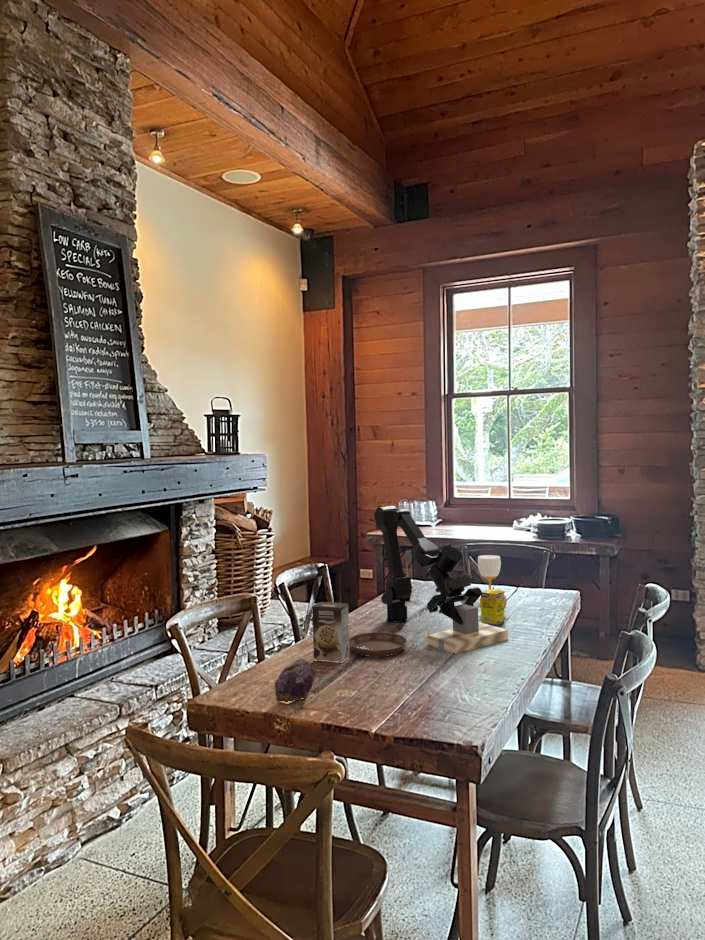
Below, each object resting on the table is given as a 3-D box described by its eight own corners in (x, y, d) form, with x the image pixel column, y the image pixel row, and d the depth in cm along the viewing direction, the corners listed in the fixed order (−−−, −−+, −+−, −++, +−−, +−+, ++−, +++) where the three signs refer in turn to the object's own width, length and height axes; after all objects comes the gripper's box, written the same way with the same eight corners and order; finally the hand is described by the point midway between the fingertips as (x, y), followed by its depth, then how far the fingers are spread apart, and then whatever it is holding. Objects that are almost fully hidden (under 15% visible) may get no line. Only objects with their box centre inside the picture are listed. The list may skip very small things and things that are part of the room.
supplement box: (497, 627, 237) (496, 594, 236) (480, 624, 240) (479, 592, 240) (505, 622, 241) (504, 590, 241) (488, 620, 245) (488, 588, 244)
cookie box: (312, 661, 207) (310, 606, 206) (321, 655, 213) (319, 600, 212) (342, 664, 204) (340, 607, 203) (350, 657, 210) (348, 602, 209)
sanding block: (453, 632, 221) (452, 606, 221) (465, 629, 224) (464, 603, 224) (466, 636, 216) (465, 610, 216) (478, 633, 219) (478, 607, 219)
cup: (506, 597, 277) (505, 556, 276) (493, 602, 270) (492, 559, 269) (486, 594, 283) (485, 554, 282) (473, 599, 276) (472, 557, 276)
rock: (270, 708, 176) (309, 711, 173) (266, 676, 174) (304, 678, 171) (290, 685, 187) (326, 687, 183) (285, 654, 185) (322, 656, 182)
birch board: (455, 654, 210) (454, 643, 209) (427, 644, 219) (427, 635, 219) (508, 639, 222) (507, 629, 222) (479, 631, 232) (479, 622, 232)
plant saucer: (418, 651, 214) (418, 641, 214) (368, 663, 205) (367, 652, 205) (385, 638, 229) (385, 628, 229) (337, 648, 220) (337, 638, 220)
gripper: (432, 569, 217) (457, 612, 209) (477, 561, 228) (504, 602, 219) (416, 591, 224) (440, 633, 216) (461, 582, 235) (486, 622, 226)
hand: (468, 622), depth 219 cm, fingers closed on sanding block, 5 cm apart
